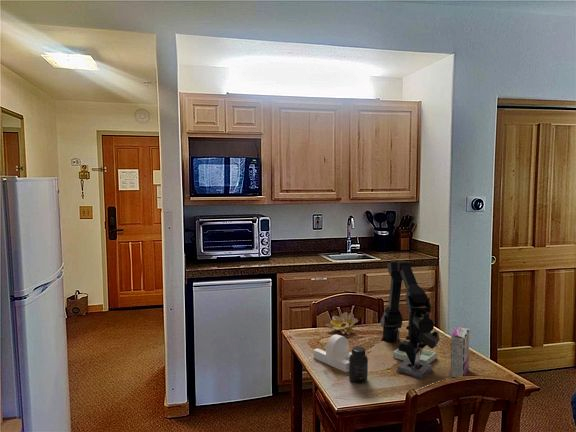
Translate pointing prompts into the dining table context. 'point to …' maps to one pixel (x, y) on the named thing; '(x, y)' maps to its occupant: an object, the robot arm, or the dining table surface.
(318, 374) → the dining table surface
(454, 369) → the candy bar box
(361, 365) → the supplement bottle
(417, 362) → the salt shaker
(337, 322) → the decorative flower
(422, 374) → the collar
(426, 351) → the tray
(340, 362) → the white tape roll holder
